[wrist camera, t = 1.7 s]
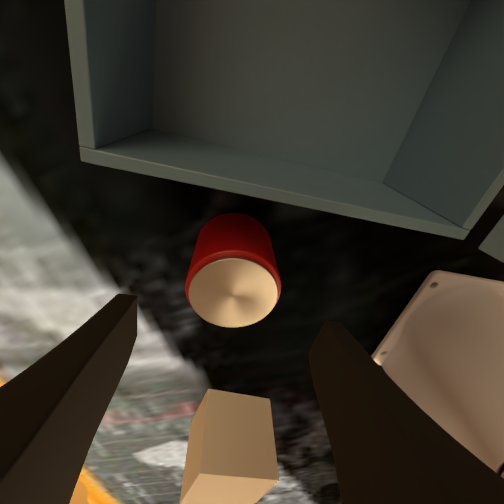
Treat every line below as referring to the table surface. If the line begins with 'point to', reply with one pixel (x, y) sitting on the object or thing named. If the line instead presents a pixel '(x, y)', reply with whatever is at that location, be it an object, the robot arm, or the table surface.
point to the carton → (301, 101)
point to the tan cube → (230, 450)
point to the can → (233, 272)
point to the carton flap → (495, 241)
